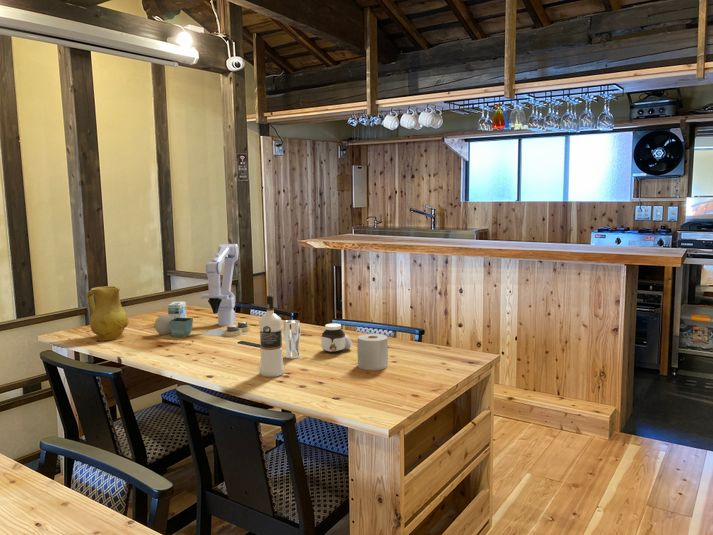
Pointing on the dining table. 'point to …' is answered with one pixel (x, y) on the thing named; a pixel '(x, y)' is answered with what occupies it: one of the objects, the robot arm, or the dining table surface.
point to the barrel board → (242, 330)
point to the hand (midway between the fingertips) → (215, 313)
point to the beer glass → (292, 338)
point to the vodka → (271, 342)
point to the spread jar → (335, 339)
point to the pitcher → (106, 313)
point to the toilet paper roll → (372, 351)
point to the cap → (232, 328)
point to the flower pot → (181, 326)
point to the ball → (163, 324)
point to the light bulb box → (177, 310)
